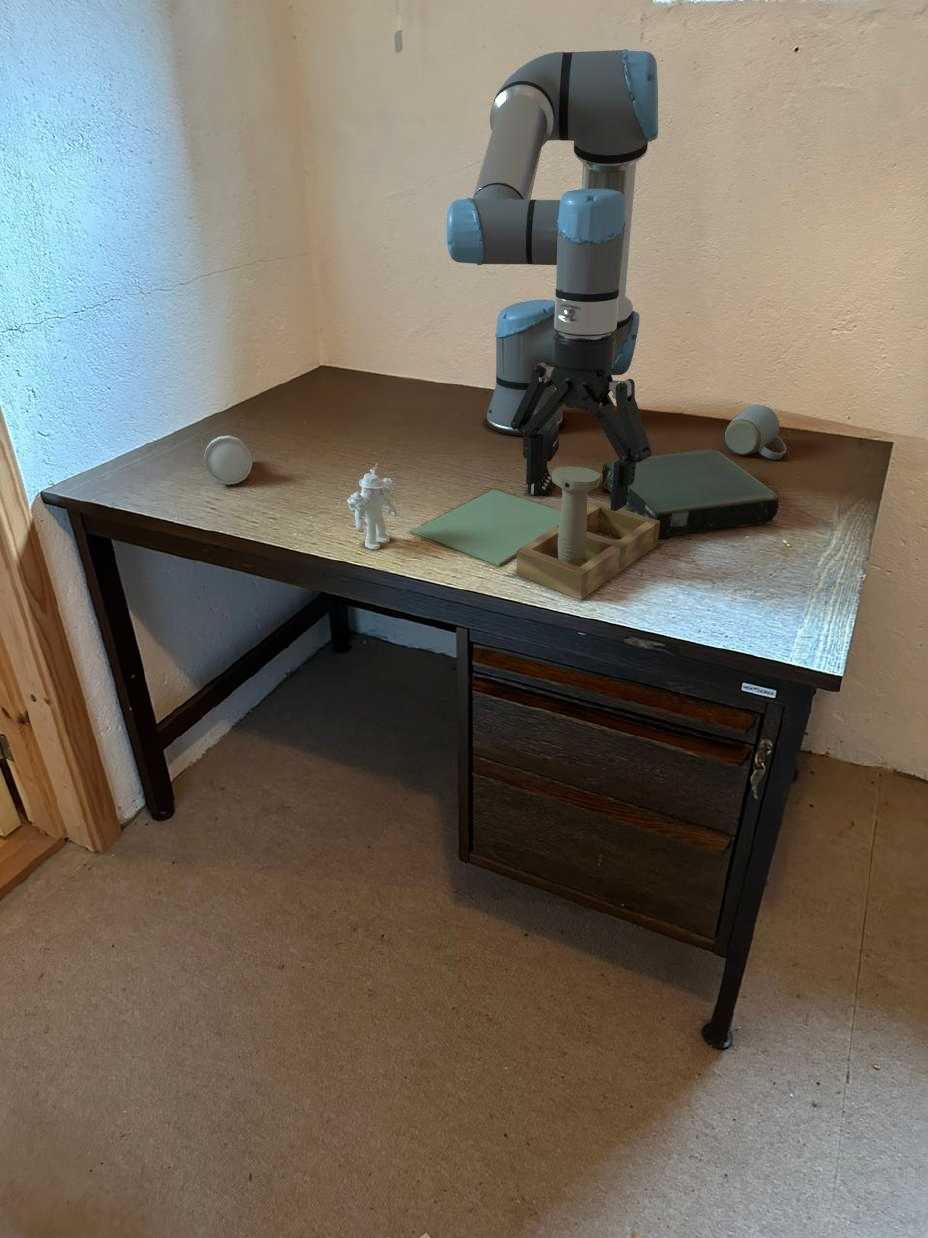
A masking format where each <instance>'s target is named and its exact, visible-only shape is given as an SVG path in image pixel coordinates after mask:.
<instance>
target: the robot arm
mask: <svg viewBox="0 0 928 1238" xmlns="http://www.w3.org/2000/svg"><path fill="white" fill-rule="evenodd" d="M656 59H657V58H656V57H655V56H654V55H653V53H651V52H649V51H644V50H628V49H627V48H624V49H620V50H619V49H615V50H613V49H611V50H590V51H553V52H549V53H545V54H543V55H540V56H538V57H535V58H534V59H532V60H530V61H528V62H526V63H524V64H523V65H522V66H521V67H519V68H518V69H517V70H516V71H515V72H513V73H512V74H511V75H510V76H508V78H507V79H506V80H505V81H504V83H503V84H502V85H501V87H500V88H499V90H498V91H497V92H496V94H495V97H494V99H493V102H492V106H491V109H490V113H489V126H490V130H491V133H490V137H489V140H488V144H487V146H486V149H485V153H484V157H483V160H482V164H481V168H480V170H479V174H478V178H477V181H476V185H475V188H474V191H473V195H472V198H471V197H466V198H463V199H456V200H453V201H452V202H450V205H449V207H448V210H447V216H446V244H447V251H448V254H449V257H450V258H451V259H452V260H453V261H454V262H455V263H462V264H474V265H477V266H483V265H532V266H556V277H555V278H556V281H555V282H556V283H555V293H554V300H553V299H532V300H524V301H520V302H515V303H513V304H510V305H507V306H506V307H504V308H502V309H501V310H500V311H499V312H498V314H497V316H496V317H497V318H496V329H495V331H496V332H495V333H494V335H495V339H496V340H495V349H496V350H495V351H496V352H495V357H496V358H495V387H494V390H493V394H492V396H491V400H490V403H489V407H488V408H487V413H486V424H487V427H489V428H490V429H491V430H493V431H495V432H498V433H501V434H505V435H511V436H520V437H522V457H523V458H524V459H526V470H525V471H526V472H525V473H526V474H525V477H526V478H525V485H527V486H528V485H532V484H534V483H536V482H538V481H540V480H541V479H542V467H543V440H544V434H540V433H539V434H537V432H538V431H540V430H541V428H542V427H543V425H544V424H545V423H546V422H547V421H552V422H555V423H557V425H558V428H559V429H560V428H561V427H562V425H563V411H562V408H561V407H562V406H563V405H565V407H566V408H568V409H573V408H574V409H578V411H582V412H588V411H589V412H590V414H591V416H592V418H594V419H596V420H597V422H598V424H599V425H600V427H601V429H602V430H603V432H604V434H605V437H606V438H607V439H608V441H609V443H610V445H611V447H612V448H613V450H614V452H615V453H616V455H617V457H618V460H615V461H616V462H615V463H614V474H613V485H612V493H611V498H610V506H611V509H610V510H612V511H617V510H619V509H623V508H624V507H625V505H626V504H627V493H628V486H630V485H632V484H633V482H634V479H635V469H636V462H637V463H639V462H641V461H643V460H645V459H646V458H648V457H651V456H652V455H653V450H652V448H651V444H650V441H649V437H648V435H647V431H646V429H645V425H644V422H643V419H642V416H641V412H640V410H639V406H638V404H637V403H638V402H637V401H636V384H635V383H636V382H635V380H634V379H632V378H627V379H625V380H615V379H613V376H621V375H624V374H626V373H627V372H628V371H629V369H630V367H631V364H632V362H633V361H632V360H633V358H634V354H635V350H636V345H637V338H638V334H639V327H640V313H639V312H638V311H634V310H633V308H634V305H633V302H632V300H631V299H630V298H629V297H628V296H626V292H627V281H628V268H629V258H630V257H629V256H630V243H631V232H632V221H633V220H632V219H633V210H634V197H635V185H636V174H637V173H636V172H637V163H638V162H639V161H640V160H641V159H643V158H644V157H645V156H646V154H647V152H648V145H649V143H651V142H653V141H656V140H657V139H658V137H659V83H658V81H659V80H658V64H657V60H656ZM548 141H561V142H562V141H566V142H567V141H569V142H573V155H574V156H575V157H576V159H578V160H579V162H581V163H582V166H581V167H582V168H581V169H582V171H581V188H578V189H573V190H567V191H566V192H564V193H563V194H562V195H561V197H560V198H559V199H532V194H533V190H534V185H535V181H536V176H537V171H538V167H539V162H540V157H541V153H542V148H543V146H544V145H545V144H547V142H548ZM610 392H611V393H612V398H613V399H615V404H616V408H617V411H618V414H617V412H616V409H615V404H614V402H613V400H612V398H611V397H610V395H609V394H610ZM600 405H601V406H600ZM618 415H619V416H618Z"/></svg>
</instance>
